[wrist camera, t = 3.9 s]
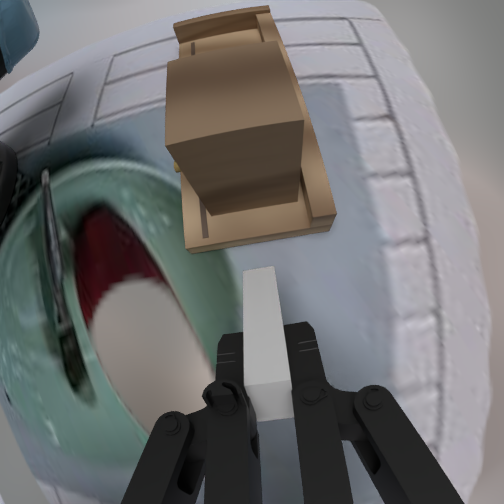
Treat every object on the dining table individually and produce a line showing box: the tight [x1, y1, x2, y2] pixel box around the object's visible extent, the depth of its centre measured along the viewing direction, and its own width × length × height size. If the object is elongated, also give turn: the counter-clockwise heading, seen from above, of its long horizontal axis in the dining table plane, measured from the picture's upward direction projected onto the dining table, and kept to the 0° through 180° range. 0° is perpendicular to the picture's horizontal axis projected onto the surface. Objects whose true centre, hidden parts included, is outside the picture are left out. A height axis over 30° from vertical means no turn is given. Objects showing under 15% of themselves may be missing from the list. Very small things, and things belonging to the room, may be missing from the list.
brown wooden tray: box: [173, 5, 337, 254], centre depth 23 cm, size 24×10×4 cm, turn 8°
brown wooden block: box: [165, 40, 304, 216], centre depth 17 cm, size 6×8×9 cm
